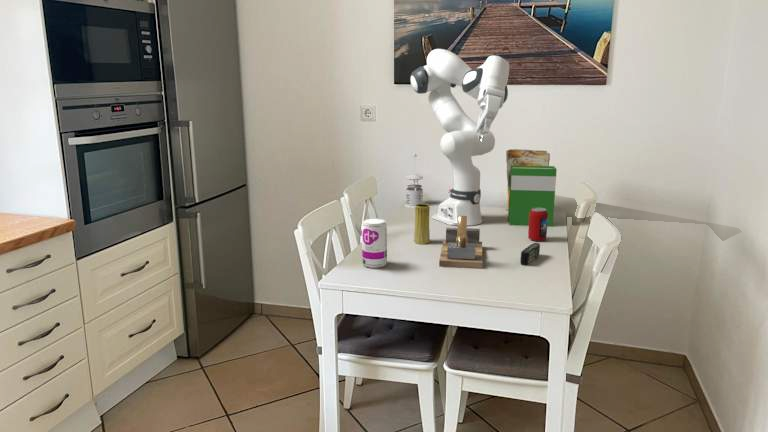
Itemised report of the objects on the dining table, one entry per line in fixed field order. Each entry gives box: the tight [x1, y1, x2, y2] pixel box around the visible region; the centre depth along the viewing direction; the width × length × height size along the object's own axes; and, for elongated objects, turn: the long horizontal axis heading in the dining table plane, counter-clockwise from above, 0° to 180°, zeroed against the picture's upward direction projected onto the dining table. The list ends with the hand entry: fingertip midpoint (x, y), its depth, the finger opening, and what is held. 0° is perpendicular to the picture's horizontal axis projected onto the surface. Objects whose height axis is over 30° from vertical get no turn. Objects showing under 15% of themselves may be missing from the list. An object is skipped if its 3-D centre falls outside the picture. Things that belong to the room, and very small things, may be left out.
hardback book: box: [507, 165, 557, 227], centre depth 240 cm, size 18×7×24 cm, turn 82°
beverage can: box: [527, 208, 548, 242], centre depth 218 cm, size 7×7×12 cm
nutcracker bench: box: [438, 227, 483, 269], centre depth 200 cm, size 24×14×7 cm, turn 171°
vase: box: [413, 203, 431, 245], centre depth 216 cm, size 6×6×14 cm
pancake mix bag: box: [505, 148, 551, 211], centre depth 261 cm, size 7×19×28 cm, turn 71°
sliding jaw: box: [447, 215, 475, 259], centre depth 192 cm, size 6×9×14 cm, turn 81°
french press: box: [403, 153, 424, 209], centre depth 273 cm, size 10×12×25 cm
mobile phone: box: [519, 242, 541, 266], centre depth 197 cm, size 5×3×15 cm
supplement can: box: [361, 217, 388, 269], centre depth 191 cm, size 8×8×15 cm
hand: (483, 137), depth 197 cm, fingers open, 8 cm apart
